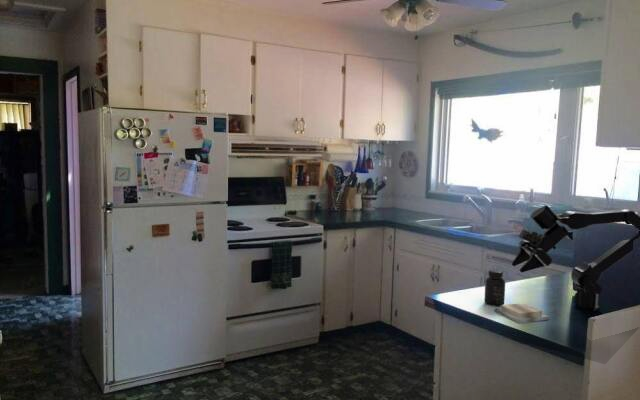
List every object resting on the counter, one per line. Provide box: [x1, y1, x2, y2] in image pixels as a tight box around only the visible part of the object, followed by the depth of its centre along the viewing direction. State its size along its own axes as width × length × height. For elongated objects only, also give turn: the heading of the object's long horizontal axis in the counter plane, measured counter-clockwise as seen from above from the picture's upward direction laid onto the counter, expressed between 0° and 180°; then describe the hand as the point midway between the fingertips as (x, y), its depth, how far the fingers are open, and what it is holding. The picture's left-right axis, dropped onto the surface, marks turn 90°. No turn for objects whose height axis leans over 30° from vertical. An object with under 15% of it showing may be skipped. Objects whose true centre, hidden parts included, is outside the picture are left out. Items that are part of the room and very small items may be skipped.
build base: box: [493, 302, 550, 324], centre depth 172 cm, size 12×12×2 cm
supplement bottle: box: [483, 269, 506, 307], centre depth 184 cm, size 7×7×12 cm
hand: (516, 268), depth 183 cm, fingers open, 9 cm apart
